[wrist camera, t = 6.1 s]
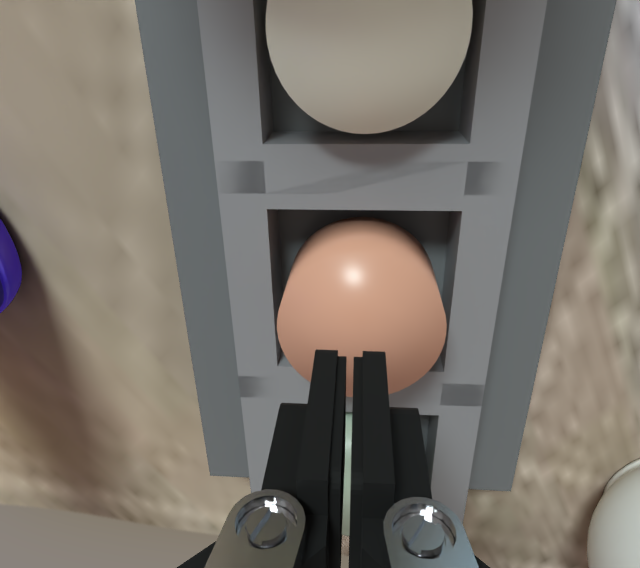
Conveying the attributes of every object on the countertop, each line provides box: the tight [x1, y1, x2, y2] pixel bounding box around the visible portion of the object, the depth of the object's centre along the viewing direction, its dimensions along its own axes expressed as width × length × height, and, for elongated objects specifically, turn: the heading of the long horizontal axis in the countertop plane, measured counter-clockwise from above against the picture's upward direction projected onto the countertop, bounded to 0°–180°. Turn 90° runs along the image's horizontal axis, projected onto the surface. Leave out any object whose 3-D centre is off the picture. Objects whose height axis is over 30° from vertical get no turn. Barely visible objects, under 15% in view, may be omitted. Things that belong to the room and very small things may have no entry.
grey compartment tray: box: [135, 0, 616, 525], centre depth 19 cm, size 14×25×5 cm, turn 1°
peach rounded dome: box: [277, 217, 447, 397], centre depth 16 cm, size 5×5×3 cm
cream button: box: [266, 0, 473, 134], centre depth 14 cm, size 5×5×3 cm
